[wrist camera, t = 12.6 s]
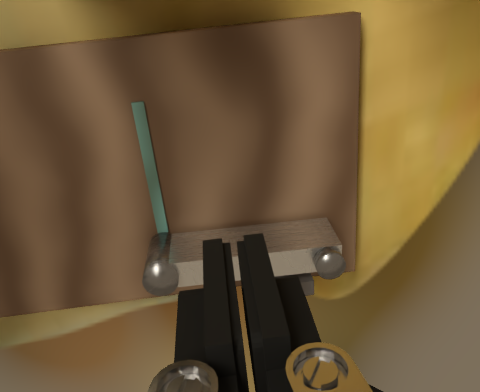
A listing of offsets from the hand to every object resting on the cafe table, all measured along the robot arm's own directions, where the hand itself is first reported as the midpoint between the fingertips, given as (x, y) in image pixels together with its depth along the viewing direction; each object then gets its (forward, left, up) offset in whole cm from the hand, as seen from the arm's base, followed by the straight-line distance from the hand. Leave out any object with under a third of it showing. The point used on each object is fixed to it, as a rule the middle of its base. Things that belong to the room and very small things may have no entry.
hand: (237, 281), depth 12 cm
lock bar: (+1, -10, -19) cm, 22 cm away
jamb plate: (-5, -5, -21) cm, 22 cm away
